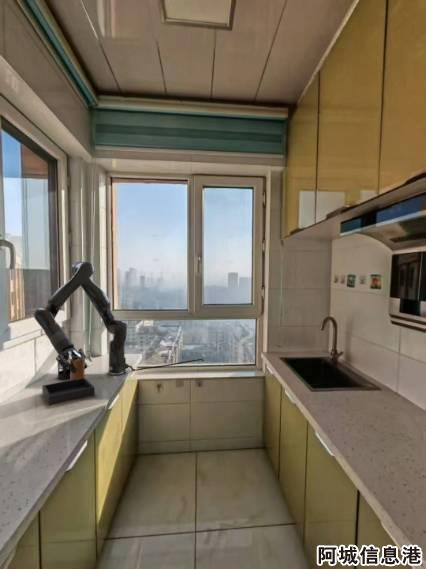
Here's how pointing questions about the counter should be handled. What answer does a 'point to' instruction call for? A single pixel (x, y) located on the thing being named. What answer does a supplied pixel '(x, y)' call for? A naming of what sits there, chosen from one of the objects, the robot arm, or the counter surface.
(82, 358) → the brown cup
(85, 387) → the dark square tray
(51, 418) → the counter surface
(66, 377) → the french press
